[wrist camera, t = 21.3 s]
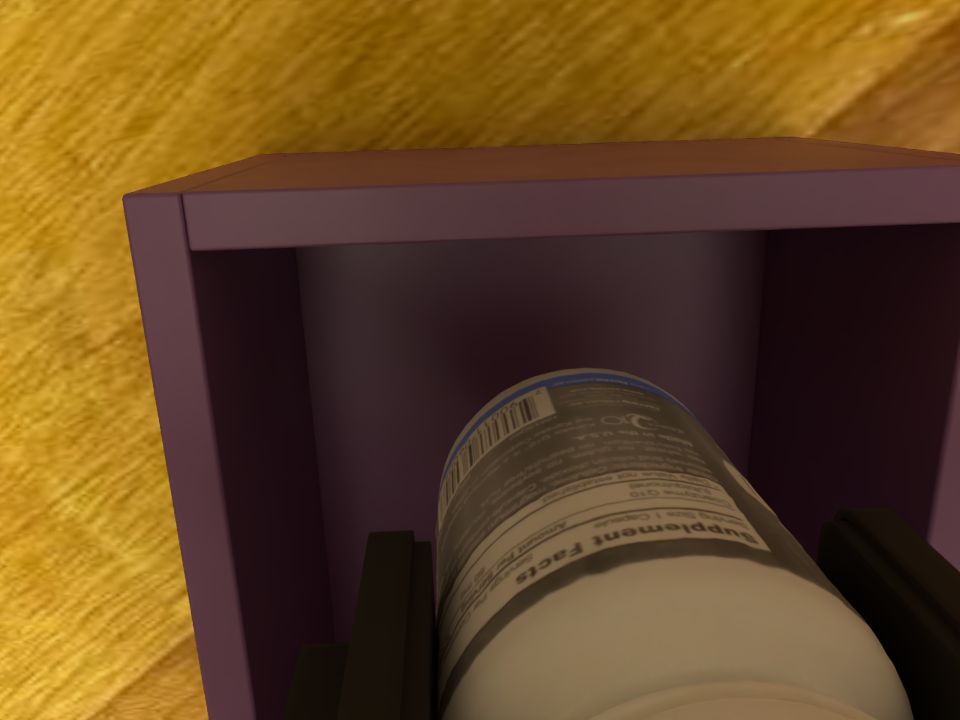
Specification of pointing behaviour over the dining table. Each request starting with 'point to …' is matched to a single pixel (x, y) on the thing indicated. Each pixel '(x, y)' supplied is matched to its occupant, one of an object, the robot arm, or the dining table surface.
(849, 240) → the box
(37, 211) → the dining table surface
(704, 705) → the pill bottle
